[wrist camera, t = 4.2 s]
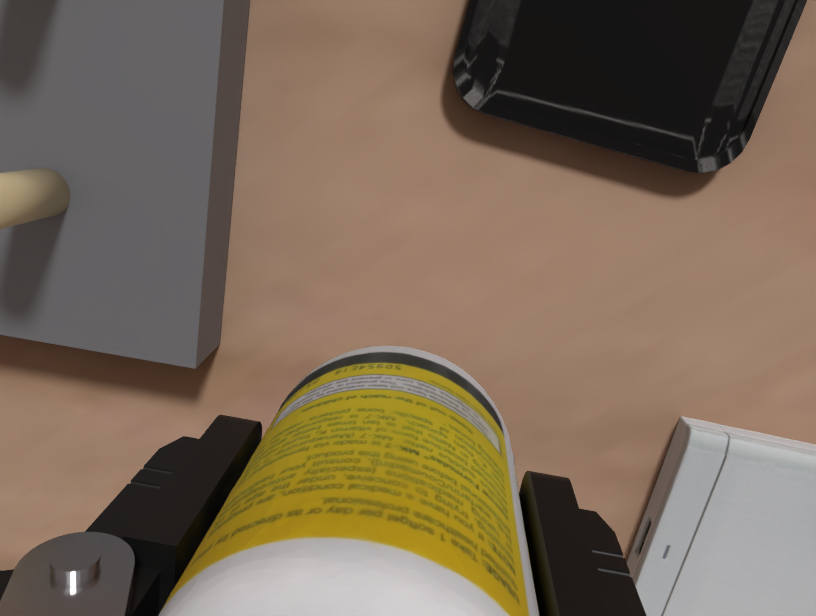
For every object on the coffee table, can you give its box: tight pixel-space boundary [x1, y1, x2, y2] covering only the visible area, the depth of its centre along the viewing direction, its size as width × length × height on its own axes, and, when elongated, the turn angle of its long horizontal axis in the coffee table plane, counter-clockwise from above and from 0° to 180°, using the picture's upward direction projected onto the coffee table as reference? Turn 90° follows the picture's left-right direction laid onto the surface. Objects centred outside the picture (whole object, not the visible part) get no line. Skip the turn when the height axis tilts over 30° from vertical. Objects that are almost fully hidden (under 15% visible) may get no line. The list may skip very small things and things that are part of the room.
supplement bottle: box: [158, 346, 539, 616], centre depth 9 cm, size 5×5×8 cm
